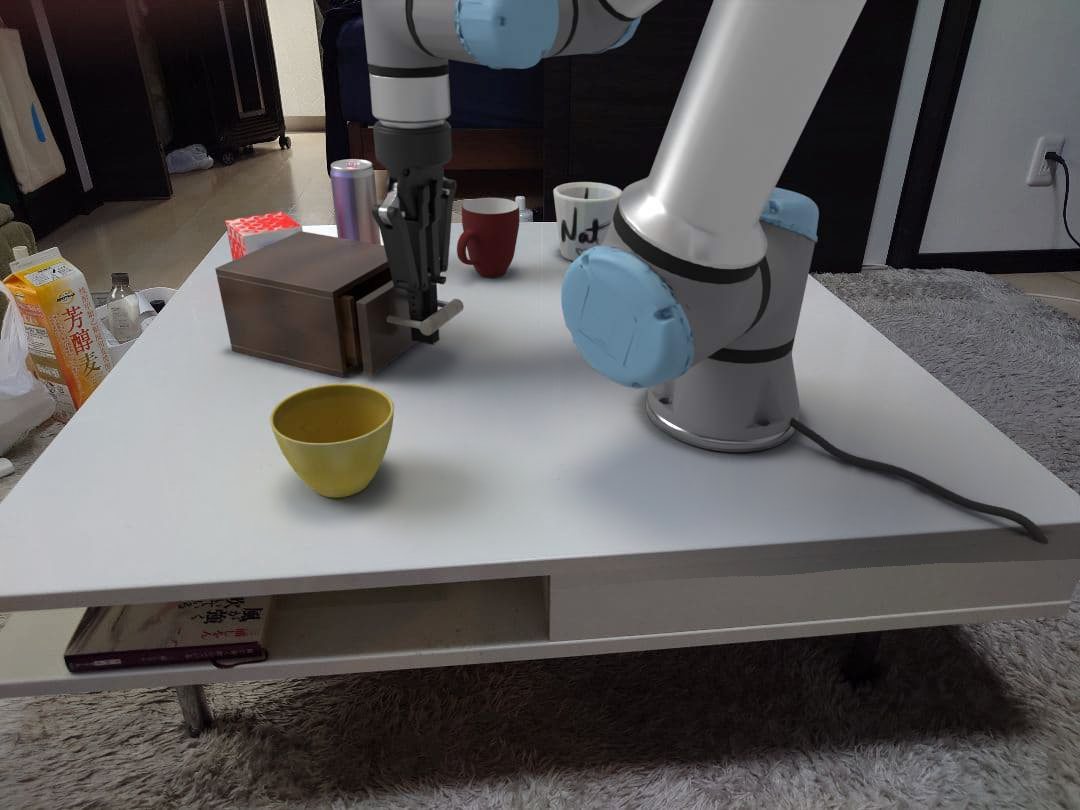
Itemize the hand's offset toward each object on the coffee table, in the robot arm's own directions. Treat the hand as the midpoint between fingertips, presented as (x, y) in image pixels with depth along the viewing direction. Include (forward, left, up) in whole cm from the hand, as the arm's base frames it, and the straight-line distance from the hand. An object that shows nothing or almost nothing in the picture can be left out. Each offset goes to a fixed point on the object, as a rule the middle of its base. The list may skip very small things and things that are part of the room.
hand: (425, 339), depth 87 cm
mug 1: (+6, -27, -3) cm, 28 cm away
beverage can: (+24, -22, -3) cm, 33 cm away
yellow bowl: (-5, +23, -3) cm, 24 cm away
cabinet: (+14, 0, -3) cm, 14 cm away
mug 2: (-3, -44, -3) cm, 44 cm away
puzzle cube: (+33, -13, -3) cm, 36 cm away
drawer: (+7, 0, -2) cm, 7 cm away
